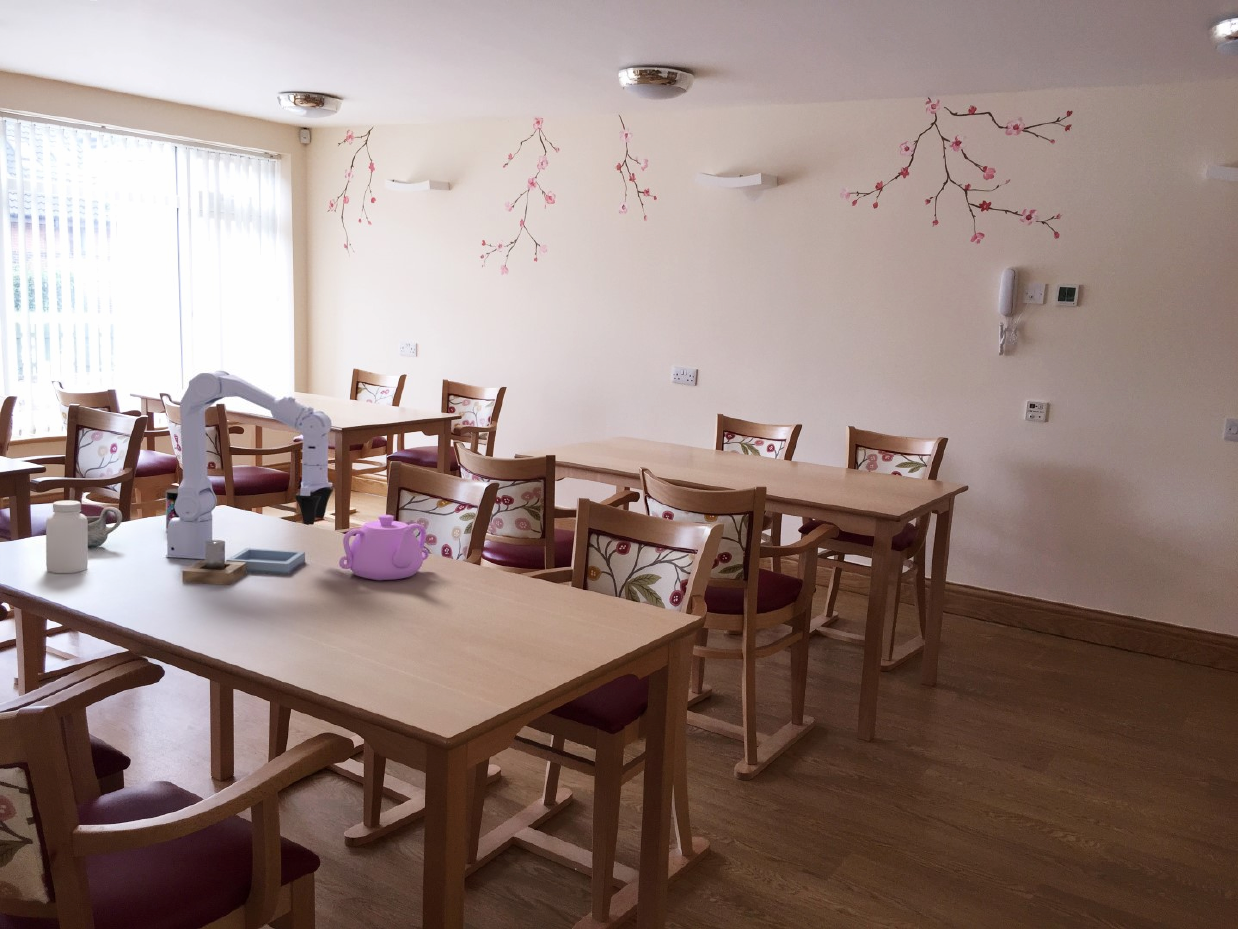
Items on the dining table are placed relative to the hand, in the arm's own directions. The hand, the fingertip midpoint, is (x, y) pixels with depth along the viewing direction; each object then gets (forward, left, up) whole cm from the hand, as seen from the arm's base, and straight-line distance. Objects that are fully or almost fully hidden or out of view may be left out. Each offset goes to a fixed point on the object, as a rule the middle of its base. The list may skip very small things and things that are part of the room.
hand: (314, 520), depth 237 cm
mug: (-53, +1, -10) cm, 54 cm away
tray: (-9, -6, -10) cm, 15 cm away
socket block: (-16, -18, -10) cm, 26 cm away
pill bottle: (-48, -19, -10) cm, 53 cm away
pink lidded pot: (+20, -8, -10) cm, 24 cm away
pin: (-16, -18, -10) cm, 26 cm away
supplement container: (-43, +25, -10) cm, 51 cm away
